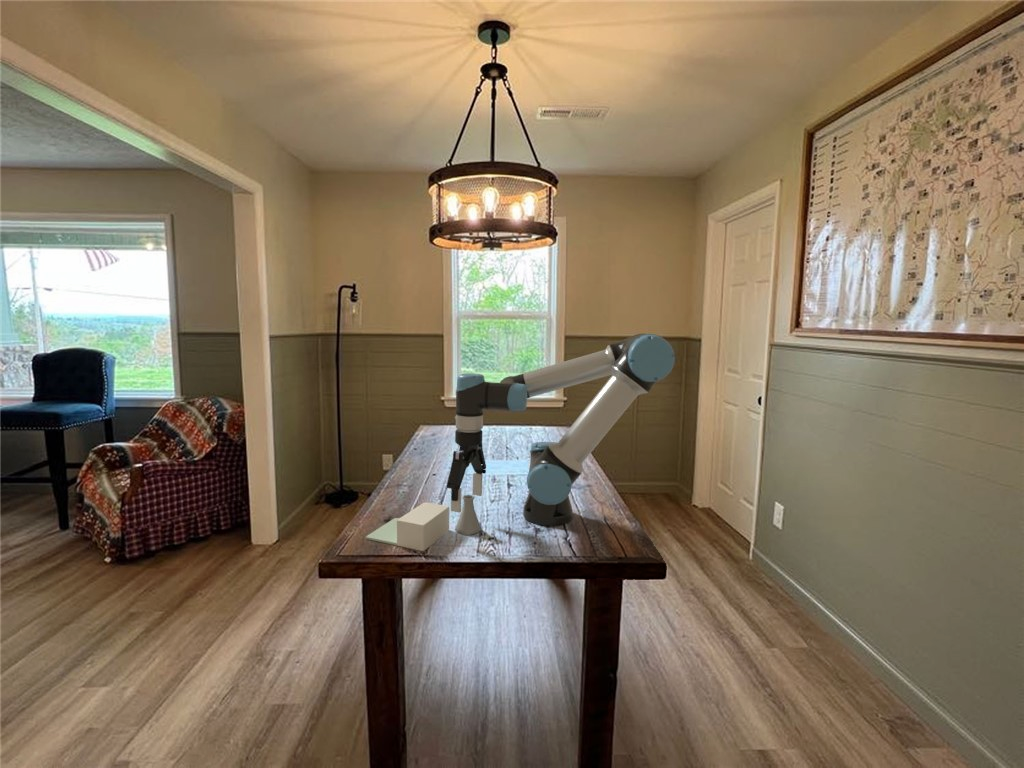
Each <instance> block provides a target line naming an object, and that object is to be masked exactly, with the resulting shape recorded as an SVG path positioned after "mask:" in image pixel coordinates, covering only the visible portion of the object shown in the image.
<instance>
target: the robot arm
mask: <svg viewBox="0 0 1024 768" xmlns="http://www.w3.org/2000/svg"><path fill="white" fill-rule="evenodd" d="M675 361H676V359H675V351H674V348H673V347H672V345H671V344H670V342H668V340H666V339H665V338H663V337H662V336H660V335H658V334H654V333H637V334H634V335H632V336H629V337H627V338H625V339H623V340H620V341H617V342H614V343H611V344H608V345H607V347H605V349H603V350H600V351H596V352H593V353H589V354H585V355H582V356H578V357H574V358H572V359H569V360H566V361H561V362H558V363H554V364H552V365H548V366H544V367H540V368H537V369H534V370H530V371H527V372H524V373H522V374H521V373H520V374H516V375H509V376H506V377H503V379H501V380H500V382H491V381H486V380H485V376H484V375H483V374H480V373H474V372H473V373H472V372H471V373H468V372H467V373H460V374H459V375H457V379H456V389H455V397H456V398H455V416H454V419H455V429H456V430H455V431H454V432H455V433H454V434H455V436H454V441H455V444H456V445H458V446H459V451H457V450H453V454H452V461H451V467H450V470H449V474H448V477H447V478H448V479H447V482H446V488H447V489H450V512H455V513H460V514H461V512H462V492H463V491H462V488H461V485H462V482H463V479H464V476H465V473H466V470H467V468H468V467H469V466H470V464H471V466H472V469H473V471H474V472H473V473H472V494H471V495H473V496H477V497H478V496H479V497H482V496H483V474H486V472H487V464H486V459H485V455H484V450H483V449H484V448H483V430H482V429H483V428H484V410H495V411H496V410H497V411H508V412H524V411H525V410H527V405H528V399H530V398H533V397H536V396H539V395H544V394H547V393H552V392H554V391H558V390H562V389H566V388H568V387H572V386H576V385H580V384H582V383H583V384H584V383H587V382H591V381H593V380H598V379H601V378H604V377H609V376H610V377H609V378H608V380H607V381H606V382H605V383H604V385H603V386H602V387H601V388H600V389H599V391H598V392H597V394H596V395H595V396H594V397H593V399H592V400H591V401H590V402H589V403H588V404H587V406H586V407H585V408H584V410H583V411H582V412H581V413H580V415H579V416H578V417H577V418H576V419H575V421H574V422H573V424H571V426H570V427H569V429H568V430H566V432H565V434H563V435H562V437H561V438H560V439H559V441H557V442H555V441H537V442H533V443H532V444H531V446H530V451H529V453H530V463H529V469H528V474H527V477H526V484H527V489H528V491H529V492H528V494H527V496H526V500H525V503H524V505H523V517H524V519H525V520H527V521H528V522H529V523H533V524H535V525H541V526H548V527H549V526H551V527H552V526H561V525H565V524H568V523H570V522H571V521H572V520H573V514H574V513H573V506H572V503H571V499H570V493H571V491H572V487H573V485H574V483H575V482H576V480H577V479H578V478H579V477H580V476H581V475H582V474H583V472H584V467H583V463H584V462H585V460H587V458H588V457H589V455H590V454H591V453H592V452H593V451H594V450H595V448H596V447H597V446H598V445H599V443H600V442H601V441H602V440H603V439H604V437H605V436H606V435H607V434H608V432H609V431H610V430H611V429H612V428H613V426H615V424H616V423H617V422H618V420H619V419H620V418H621V417H622V416H623V414H624V413H625V412H626V410H627V409H628V408H629V407H630V405H631V404H632V403H634V400H635V399H636V398H637V397H638V396H640V395H643V394H648V393H649V392H650V390H651V389H652V388H653V387H654V386H655V385H656V383H657V382H659V381H662V380H663V379H665V378H666V377H667V376H669V374H670V373H671V371H672V370H673V368H674V365H675Z"/></svg>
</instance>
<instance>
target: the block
mask: <svg viewBox="0 0 1024 768" xmlns="http://www.w3.org/2000/svg"><path fill="white" fill-rule="evenodd" d="M398 518H399V519H398V520H397V545H396V546H398V547H402V548H406V549H410V550H416V551H420V552H424V551H425V550H427V549H428V548H429V547H430V546H432V545H433V544H434V543H435V542H437V541H438V540H439V539H440V538H441V537H442V536H444V535H445V534H446V533H448V532H449V531H450V506H449V505H444V504H437V503H433V502H426V501H425V502H423V503H421V504H419V505H418V506H417V507H415V508H414V509H412V510H409V512H407V513H406V514H404V515H403V516H401V517H398Z"/></svg>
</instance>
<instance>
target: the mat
mask: <svg viewBox="0 0 1024 768" xmlns="http://www.w3.org/2000/svg"><path fill="white" fill-rule="evenodd" d="M399 518H400V517H395V518H392V519H391V520H389V521H388V522H387V523H385V524H383V525H382V526H380V527H378V528H377V529H375V530H374V531H372V532H371V533H369V534H368V535H366V536H365V540H370V541H373V542H374V541H375V542H379V543H383V544H387V545H392V546H397V520H398V519H399Z"/></svg>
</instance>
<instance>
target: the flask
mask: <svg viewBox="0 0 1024 768" xmlns="http://www.w3.org/2000/svg"><path fill="white" fill-rule="evenodd" d="M461 499H462V500H463V504H462V507H461V512H460V515H459V518H458V520H457V522H456V525H455V528H454V531H455V532H456V533H457V534H459V535H463V536H470V535H475V534H478V533H479V532H480V531H482V526H481V524H480V522H479V519H478V518H479V517H478V516H477V513H476V510H475V505H474V499H475V495H472V494H465V495H463V496H461Z"/></svg>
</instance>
